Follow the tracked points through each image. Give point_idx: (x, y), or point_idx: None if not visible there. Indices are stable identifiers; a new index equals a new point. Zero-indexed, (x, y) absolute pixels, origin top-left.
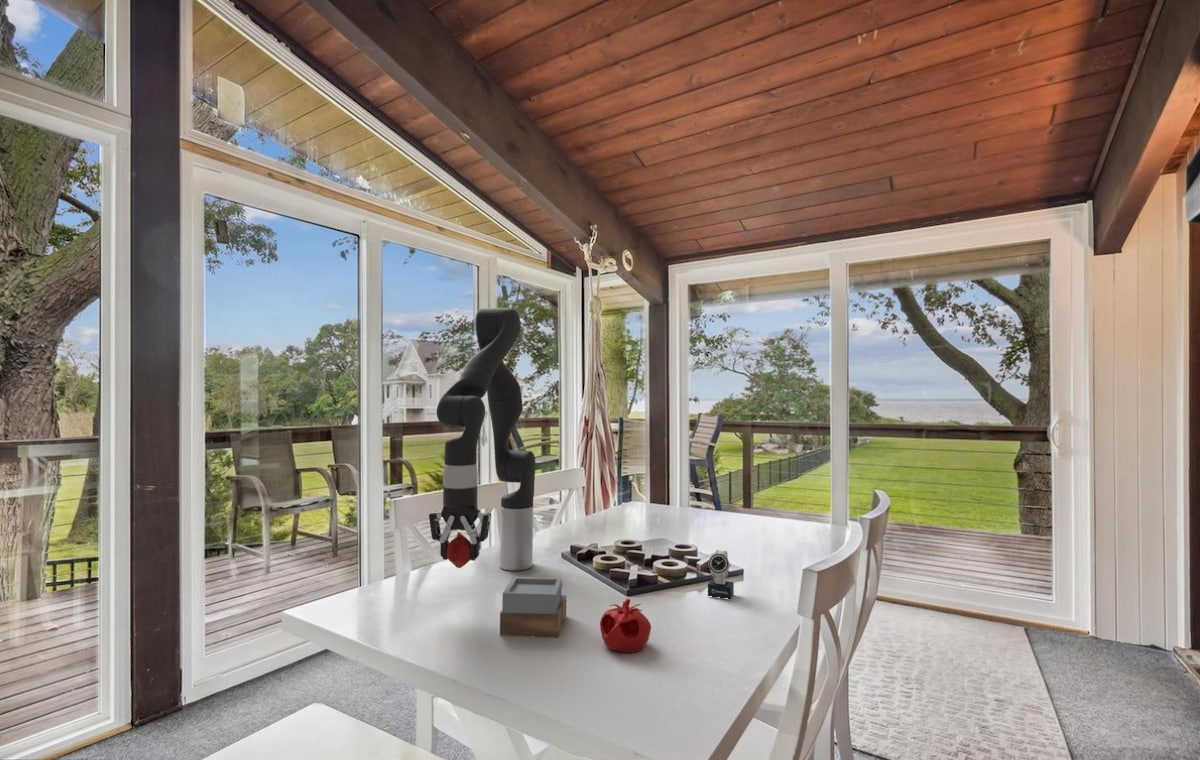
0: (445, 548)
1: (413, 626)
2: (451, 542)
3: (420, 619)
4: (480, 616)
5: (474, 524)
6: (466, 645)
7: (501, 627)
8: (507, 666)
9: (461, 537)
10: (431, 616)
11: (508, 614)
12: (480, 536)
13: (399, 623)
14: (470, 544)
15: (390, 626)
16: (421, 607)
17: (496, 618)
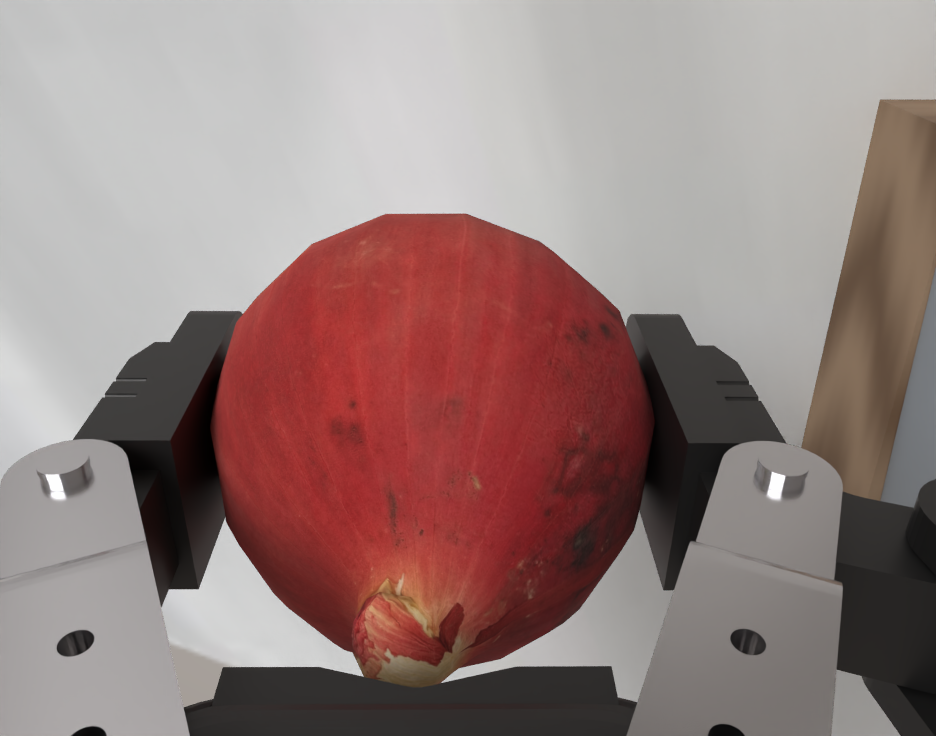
0: (212, 529)
1: None
2: (304, 619)
3: (204, 291)
4: (623, 187)
5: (824, 714)
6: (631, 586)
7: None
8: (854, 727)
9: (480, 650)
10: (253, 229)
11: None
12: (906, 725)
13: (103, 370)
14: (633, 508)
15: (78, 418)
16: (65, 44)
17: (751, 212)
